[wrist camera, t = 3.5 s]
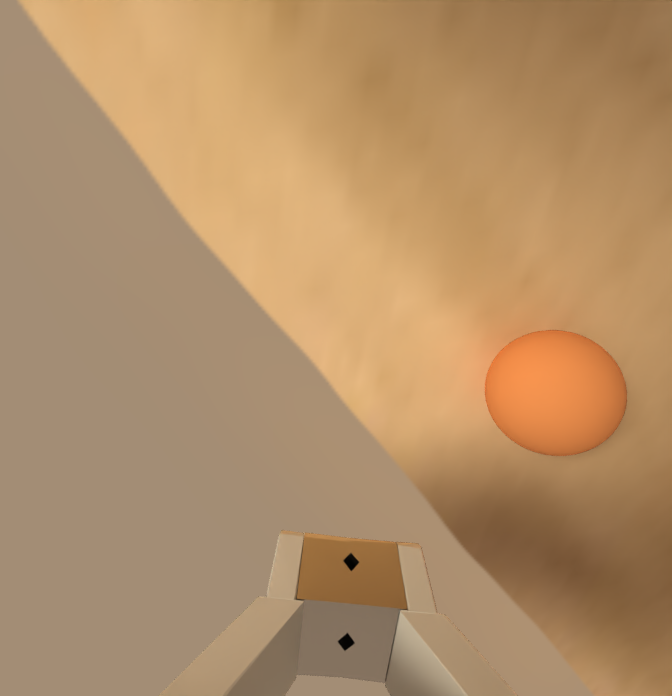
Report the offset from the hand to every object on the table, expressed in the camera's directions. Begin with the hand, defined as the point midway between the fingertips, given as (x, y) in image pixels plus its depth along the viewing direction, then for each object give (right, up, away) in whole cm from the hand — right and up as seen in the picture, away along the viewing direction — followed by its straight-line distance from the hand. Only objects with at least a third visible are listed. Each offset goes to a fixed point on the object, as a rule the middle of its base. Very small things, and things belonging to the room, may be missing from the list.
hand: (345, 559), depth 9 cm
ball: (+9, +3, +9) cm, 13 cm away
